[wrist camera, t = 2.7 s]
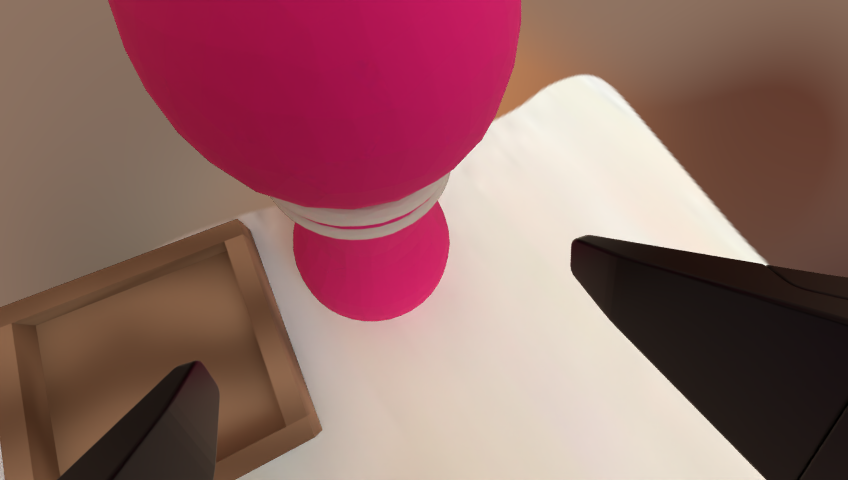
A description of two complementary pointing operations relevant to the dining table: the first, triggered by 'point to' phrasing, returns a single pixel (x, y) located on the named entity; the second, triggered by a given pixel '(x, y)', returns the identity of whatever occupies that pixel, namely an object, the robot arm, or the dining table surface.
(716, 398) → the robot arm
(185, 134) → the pepper mill
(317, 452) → the dining table surface
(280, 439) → the walnut tray
